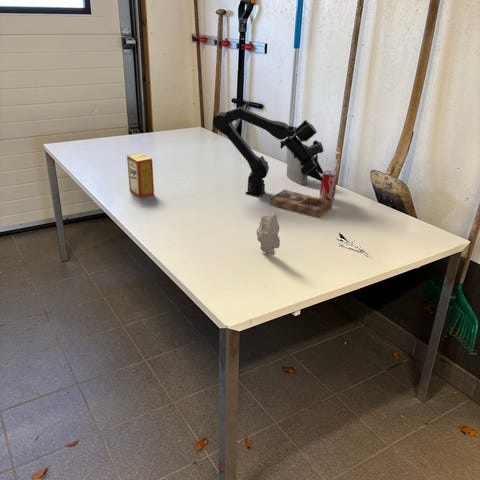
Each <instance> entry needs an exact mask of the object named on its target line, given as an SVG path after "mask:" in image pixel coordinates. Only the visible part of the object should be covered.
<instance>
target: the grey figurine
mask: <svg viewBox="0 0 480 480" xmlns="http://www.w3.org/2000/svg"><path fill="white" fill-rule="evenodd" d="M279 231H280V224H279V222H278V216H277V214H276V213H271V212H270V213H269V214H267V215H263V216H261V218H260V221H259V226H258V228H257V229H256V237H257V238H256V239H257V241H258V242H259V243H260V248H259V249H260V250H261V251H262V252H263V253H265V254H266V255H270V256H275V254H276V251H275V249H278V248H280V246H281V240H280V237H279V236H278V235H279Z"/></svg>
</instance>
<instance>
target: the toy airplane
mask: <svg viewBox="0 0 480 480" xmlns="http://www.w3.org/2000/svg"><path fill="white" fill-rule="evenodd" d="M332 234H333V233H332ZM338 235H339V238H340V239H341V240H343V241H345V242H346V243H345V242H344V243H345V244H347V243H348V244H349V245H351V246H353V247H355V248H357V249H358V250H360V251H361V252H363V253H365V254H367V255H369V253H367V252H366V251H365V250H363V249H362V248H361V247H360V248H361V249H360V248H358V247H356V246H354V245H353V244H352V242H349V241H348V240H347V238H346V237H345V236H344V235H343V234H342V233H340V232H338ZM341 240H340V241H341ZM343 241H342V242H343ZM348 244H347V245H348ZM361 252H360V253H361Z"/></svg>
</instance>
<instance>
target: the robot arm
mask: <svg viewBox="0 0 480 480" xmlns="http://www.w3.org/2000/svg"><path fill="white" fill-rule="evenodd" d="M239 119H240V120H242V121H244V122H247V123H249V124H251V125H254V126H255V127H258V128H260V129H263V130H265V131H266V132H267V133H269V134H270V135H271V136H273V137H274V138H275V139H277V140H279V141H280V142H279V143H280V149H283V148H284V147H286V149H289V150H290V152H291V153H292V154H293V155H294V158H297V159H298V161H299V162H300V165H301V173H302V174H303V175H307V176H308V177H310V178H312V179H315V180H317V181H320V182H321V181H322V180H323V179H322V174H323V172H324V170H323V169H322V167H321V164H320V163H319V161H318V158H319V156H318V155H319V154H323V152H324V146H323V144H322V142H320V141H318V140H316V139H315V140H313V142H312V144H311V145H307V144H304V143H303V142H307V141H309V140H310V139H311V138H313V136H315V135H316V134H317V133H318V131H317V129H316V128H315V126H314V125H313V124H311V123H310V122H309V121H308V120H306V119H305V120H304V121H302V123H301V124H300V125H298V126H297V127H296V126H291V125H289V124H288V123H286V122H282V121H279V120H273V119H272V120H271V119H268V118H266V117H265V116H262V115H259V114H257V113H255V112H253V111H250V110H248V109H245V108H244V107H242V106H239V107H237V108H234V109H232V110H228V111H226V112H225V111H220V112H218V113H217V114H216V115H215V116H214V117H213V119H212V125H213V127H214V128H215V129H216V130H217V131H219V132H220V134H222V135H224V136H226V137H227V138H228V139H229V141H230V142H231V143H232V144H233V146H234V148H236V149H237V150H238V152H239V153H240V155H241V156H242V157H243V158H244V159H245V160H246V162H247V163H248V166H249V168H250V172H249V173H250V174H249V175H248V178H247V191H246V192H245V194H246V195H250V196H253V197H260V196H262V195H264V194H265V193H266V191H265V189H266V186H265V185H266V184H265V180H264V179H265V178H266V177H267V175H268V172H269V170H270V167H269V166H270V165H269V162H268V161H267V160H266V159H265V158H264V156H263V155H261V156H260V157H259V156H258V155H256V154H255V153H254V151H253V150H252V148H251V147H250V146H249V145H248V143H247V142H246V140H244V139H243V138H242V136H241V135H240V134H239V132H238V131H237V129H235V126H234V123H233V122H235V121H237V120H239ZM297 137H298V138H299V139H300V140H301V141H302V142H301V141H300V140H299V139H298V138H297ZM303 144H304V145H303ZM308 146H309V147H308Z"/></svg>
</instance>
